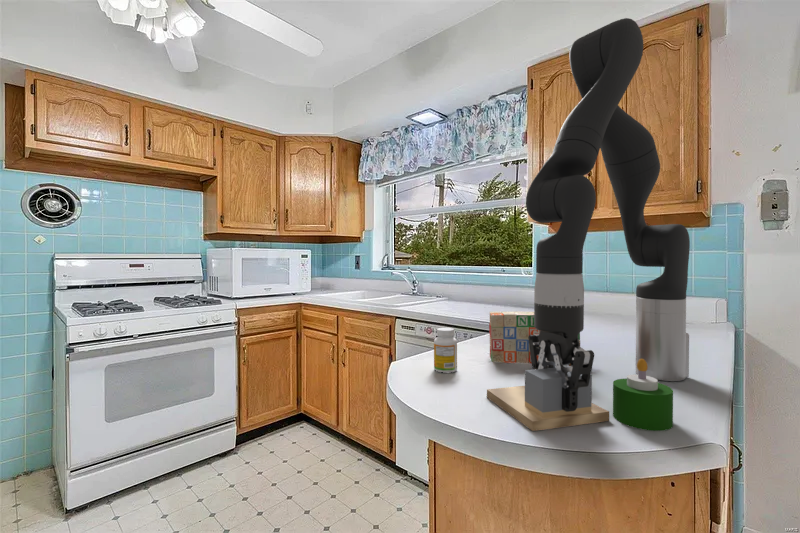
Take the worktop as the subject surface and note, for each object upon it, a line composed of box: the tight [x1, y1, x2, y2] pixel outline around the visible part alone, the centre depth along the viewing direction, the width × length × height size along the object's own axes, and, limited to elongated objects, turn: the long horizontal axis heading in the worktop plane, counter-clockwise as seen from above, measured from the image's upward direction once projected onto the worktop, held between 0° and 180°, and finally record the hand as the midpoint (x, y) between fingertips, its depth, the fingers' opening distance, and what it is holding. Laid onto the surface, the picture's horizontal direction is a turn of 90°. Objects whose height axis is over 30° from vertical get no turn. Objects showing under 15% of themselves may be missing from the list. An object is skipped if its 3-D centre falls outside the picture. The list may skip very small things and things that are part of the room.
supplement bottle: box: [433, 327, 458, 374], centre depth 92 cm, size 5×5×10 cm
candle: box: [612, 359, 674, 432], centre depth 64 cm, size 8×8×10 cm
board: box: [486, 385, 610, 432], centre depth 69 cm, size 14×15×2 cm
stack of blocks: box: [488, 311, 581, 364], centre depth 101 cm, size 21×6×12 cm, turn 81°
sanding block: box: [524, 366, 593, 418], centre depth 65 cm, size 5×9×6 cm, turn 105°
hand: (557, 403), depth 65 cm, fingers closed on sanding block, 5 cm apart
